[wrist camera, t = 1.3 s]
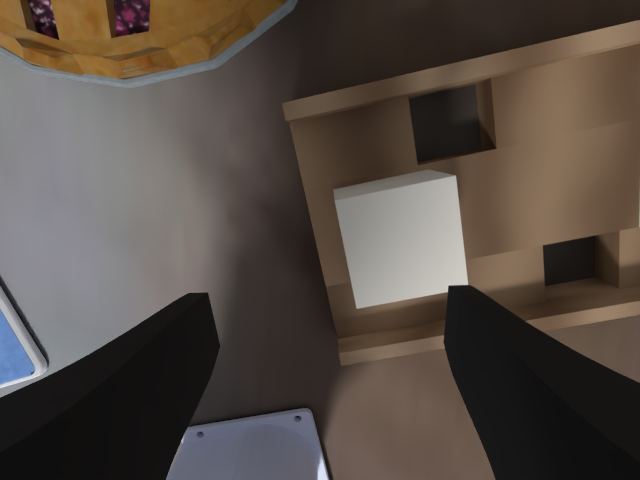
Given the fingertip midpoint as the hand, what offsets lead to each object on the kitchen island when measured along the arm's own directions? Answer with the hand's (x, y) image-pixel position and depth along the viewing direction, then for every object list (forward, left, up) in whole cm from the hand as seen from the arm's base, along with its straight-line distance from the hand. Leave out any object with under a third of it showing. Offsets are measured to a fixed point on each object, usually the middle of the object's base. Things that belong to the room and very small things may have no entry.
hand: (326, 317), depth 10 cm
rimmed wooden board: (+10, 0, -11) cm, 15 cm away
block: (+3, 0, -9) cm, 9 cm away
